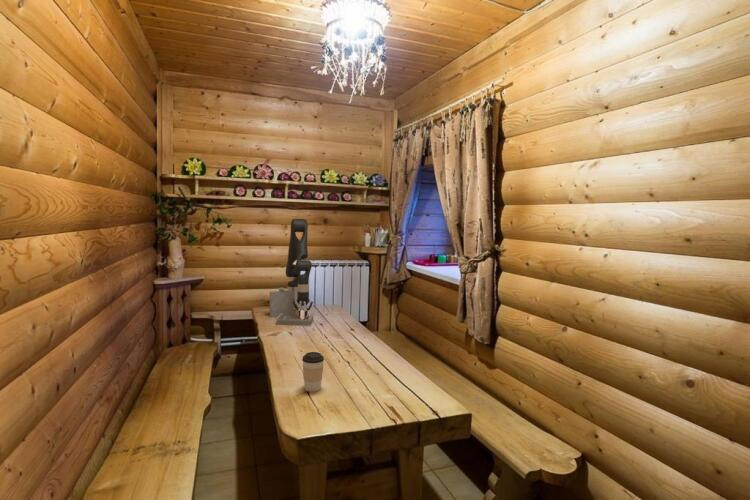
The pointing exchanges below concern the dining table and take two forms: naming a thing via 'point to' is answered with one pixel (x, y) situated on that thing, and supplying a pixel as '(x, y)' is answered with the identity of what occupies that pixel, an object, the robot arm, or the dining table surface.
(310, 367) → the coffee cup
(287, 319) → the console
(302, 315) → the fader tab
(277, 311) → the grey upright panel
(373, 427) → the dining table surface
